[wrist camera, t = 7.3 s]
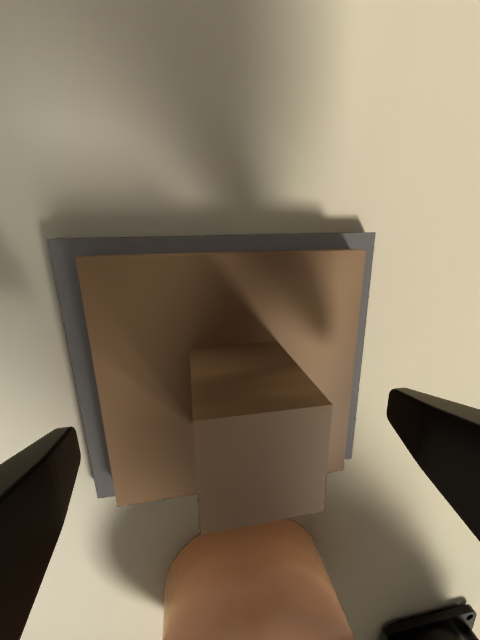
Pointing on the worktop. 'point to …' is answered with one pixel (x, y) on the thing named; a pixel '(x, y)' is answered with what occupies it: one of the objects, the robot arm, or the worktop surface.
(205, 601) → the peach rounded dome
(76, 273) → the mat
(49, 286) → the worktop surface
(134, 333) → the lid
